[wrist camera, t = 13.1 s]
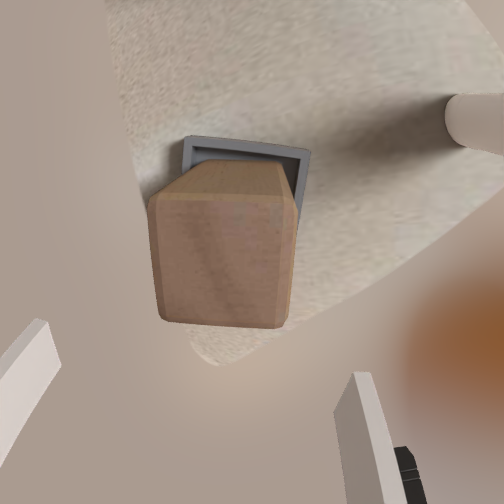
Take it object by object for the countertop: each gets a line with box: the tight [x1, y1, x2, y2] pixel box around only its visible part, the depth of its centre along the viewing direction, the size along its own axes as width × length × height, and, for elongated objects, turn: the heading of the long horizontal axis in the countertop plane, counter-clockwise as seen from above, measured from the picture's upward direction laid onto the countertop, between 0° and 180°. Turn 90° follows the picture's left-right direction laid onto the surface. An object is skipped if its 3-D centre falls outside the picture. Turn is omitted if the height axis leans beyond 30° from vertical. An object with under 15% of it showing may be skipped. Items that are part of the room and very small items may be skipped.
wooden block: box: [147, 159, 298, 329], centre depth 30 cm, size 10×10×20 cm
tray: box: [181, 135, 311, 235], centre depth 38 cm, size 14×14×4 cm
